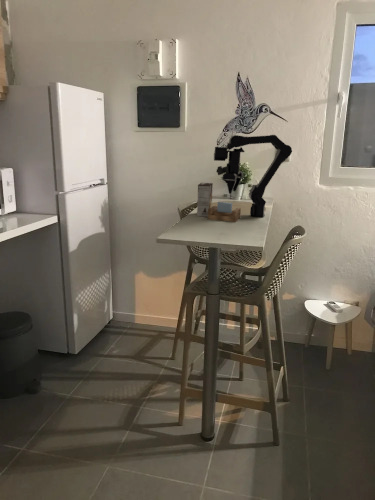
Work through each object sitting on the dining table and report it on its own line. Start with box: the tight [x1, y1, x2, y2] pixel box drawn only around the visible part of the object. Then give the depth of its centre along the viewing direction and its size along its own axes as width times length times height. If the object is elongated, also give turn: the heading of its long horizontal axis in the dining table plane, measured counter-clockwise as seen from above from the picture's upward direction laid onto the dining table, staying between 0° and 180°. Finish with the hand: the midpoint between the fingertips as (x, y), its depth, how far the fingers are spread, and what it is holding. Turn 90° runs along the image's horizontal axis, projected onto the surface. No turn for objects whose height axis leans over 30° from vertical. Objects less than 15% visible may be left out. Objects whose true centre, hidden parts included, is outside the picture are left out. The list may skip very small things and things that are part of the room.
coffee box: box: [196, 182, 214, 218], centre depth 205 cm, size 9×6×16 cm
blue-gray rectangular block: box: [216, 201, 233, 213], centre depth 197 cm, size 7×2×6 cm, turn 69°
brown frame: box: [207, 205, 242, 223], centre depth 198 cm, size 14×10×5 cm
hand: (232, 192), depth 204 cm, fingers open, 9 cm apart
